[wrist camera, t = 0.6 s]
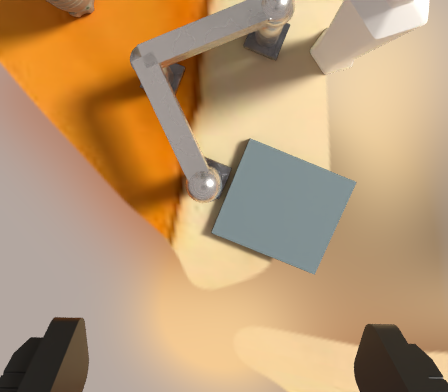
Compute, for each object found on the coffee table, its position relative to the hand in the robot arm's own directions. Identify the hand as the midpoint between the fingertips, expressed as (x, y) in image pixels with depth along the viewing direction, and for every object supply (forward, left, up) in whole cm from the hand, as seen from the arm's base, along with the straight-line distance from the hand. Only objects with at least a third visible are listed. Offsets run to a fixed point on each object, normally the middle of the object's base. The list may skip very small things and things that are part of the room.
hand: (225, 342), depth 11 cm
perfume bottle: (-16, +3, -24) cm, 29 cm away
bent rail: (-8, -6, -24) cm, 26 cm away
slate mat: (-2, +4, -24) cm, 24 cm away
